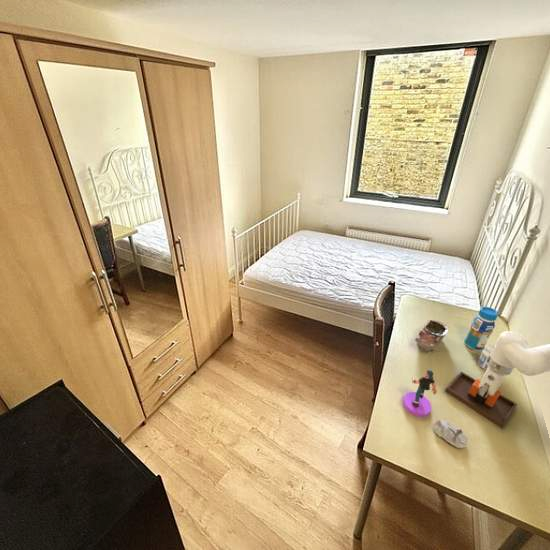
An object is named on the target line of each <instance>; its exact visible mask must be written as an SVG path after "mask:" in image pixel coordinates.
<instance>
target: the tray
mask: <svg viewBox="0 0 550 550" xmlns="http://www.w3.org/2000/svg"><path fill="white" fill-rule="evenodd" d="M476 380H477V379H475V378H474V377H472V376H470V375H469V374H466V373H465V372H463V371H460V372H459V373H458V374H457V376H456V377H455V378H454V379H453V380H452V381H451V382H450V383H449V384H448V385H447V386H446V388H445V390H444V392H445V393H447V394H448V395H450V396H451V397H453V398H454V399H456V400H458V401H459V402H460V403H462V404H463V405H465V406H467V407H468V408H470V409H471V410H473V411H475V412H476V413H477V414H479V415H480V416H481V417H483V418H485V419H486V420H488V421H490V422H491V423H493V424H494V425H496V426H497V427H499V428H500V429H504V427H505V426H506V424H507V422H508V421H509V419H510V417H511V416H512V414H513V412H514V411H515V409H516V408H517V405H518V403H516V402H514V401H513V400H511V399H509V398H507V397H506V396H504V395H503V394H502V393H501V394H500V395H499V397H498V399H497V401H496V402H495V404H494V405H493V407H492V408H491V409H490V408H488V407H487V406H485V405H481V404H480V403H478V402H477V401H475V400H474V398H472V397H471V396H469V395H468V393H469V391H470V389H471V387H472V385H473V383H474V382H475V381H476Z"/></svg>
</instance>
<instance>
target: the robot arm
mask: <svg viewBox="0 0 550 550" xmlns="http://www.w3.org/2000/svg"><path fill="white" fill-rule="evenodd" d="M528 344H529V343H528V340H527V339H526V338H525V337H524V336H523V335H521V334H520V333H517V332H515V331H510V330H509V331H507V330H506V331H503V332H501V333H500V334H499V336H498V338H497V340H496V341H495V343H494V345H493V346H494V347H493V349H492V351H491V353H490V355H489V357H488V359H487V361H486V364H487V366H488V368H487V369H485V371H484V374H483V376H482V378H481V380H480V381H481V382H480V384H479V389H480V390H479V392H477V394H476V396H475V398H474V400H475V401H477V402H478V403H480V404H481V405H484V403H485V401H486V399H487V396H488V394H489V395H491V396H493V395H494V394H495V393H496V391H497V390H498V391H499V388H500V387H501V385H502V384H503V382H504V380H505V378H506V376H510V375H512V373H513V371H514V369H516V370H517V371H518V372H520V373H521V374H523V375H525V376H528V377H533V376H538V375H541V374H544V373H548V372H550V343H549V344H542V345H539V346H535V347H530V348H529V347H528ZM487 389H488V390H487ZM486 392H487V393H486ZM485 393H486V394H485Z"/></svg>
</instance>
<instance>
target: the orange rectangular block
mask: <svg viewBox="0 0 550 550" xmlns="http://www.w3.org/2000/svg"><path fill="white" fill-rule="evenodd" d="M475 380H476V381H475V382H474V383H473V385H472V387H471V389H470V391H469V393H468V395H469V396H471V397H472V398H475V396H476V394H477V392H479V390H480V389H479V384H480V382H481V380H480V379H479V378H477V379H475ZM487 390H488V389H487ZM486 393H487V392H486ZM486 393H485V394H486ZM500 394H501V395H502V392H501V391H499V389H498V390H497V391H496V393H495V394H494V395H493V396H491V395H489V394H488V396H487V399H486V401H485V403H484V405H485V406H487V407H488V408H490V409H491V408H492V407H493V405H494V404H495V402H496V401H497V399H498V397H499V395H500Z"/></svg>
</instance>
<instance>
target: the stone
mask: <svg viewBox="0 0 550 550" xmlns="http://www.w3.org/2000/svg"><path fill="white" fill-rule="evenodd" d="M433 431H434V432H435V434H437V436H438V437H439V438H442V439H444V440H445V441H446V442H447V443H449V444H450V445H452V446H454V447H455V448H457V449H465V448H466V445H467V442H468V438H467V435H466V434H465V433H464V432H463V429H460V428H459V427H457V426H455V425H453V424H451V423H450V422H448V421H446V420H445V419H438V420H437V422H436V423H435V426H434V427H433Z"/></svg>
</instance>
